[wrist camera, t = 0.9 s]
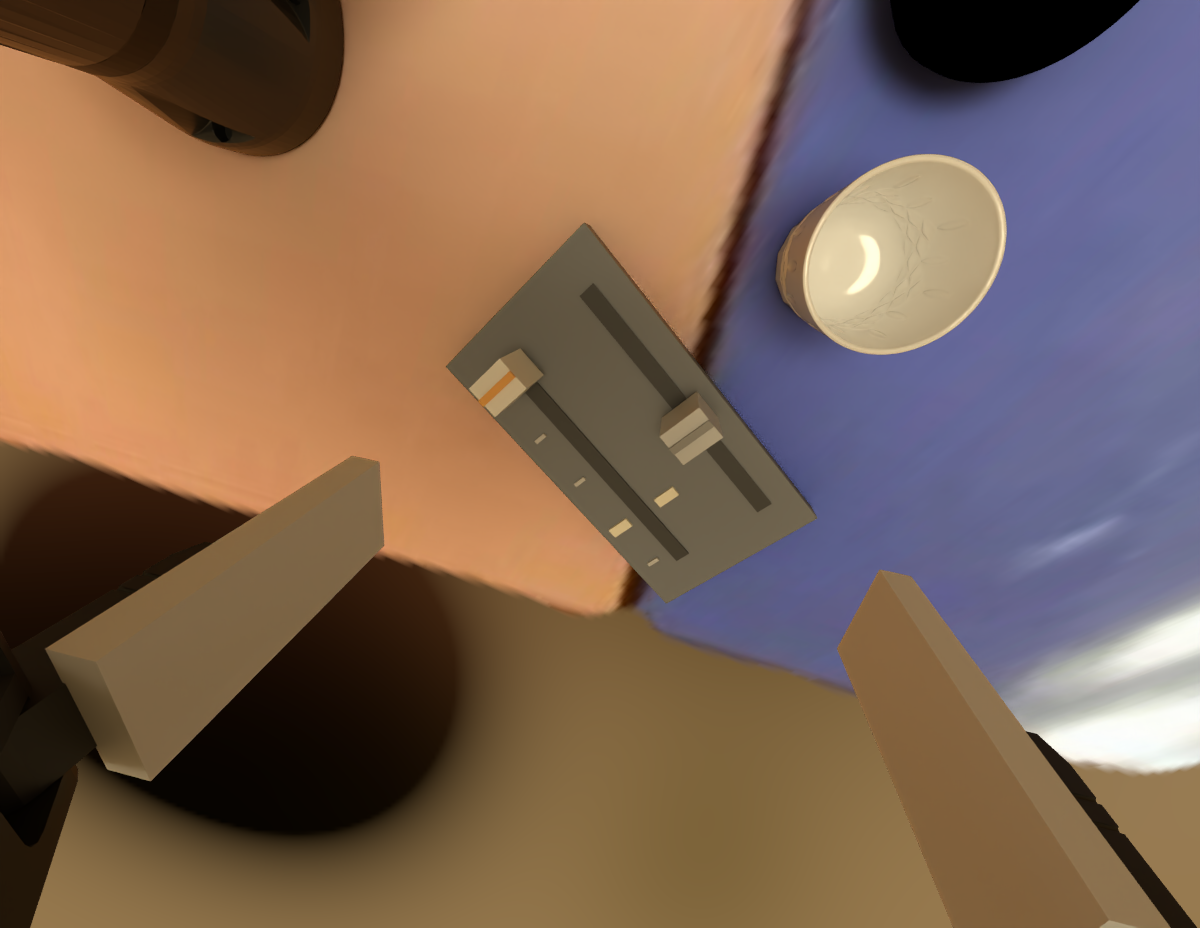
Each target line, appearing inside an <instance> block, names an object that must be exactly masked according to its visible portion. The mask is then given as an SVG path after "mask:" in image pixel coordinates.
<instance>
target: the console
mask: <svg viewBox="0 0 1200 928" xmlns="http://www.w3.org/2000/svg"><path fill="white" fill-rule="evenodd" d="M518 349H521V350H522V351H523V352H524V353H525V354H526V355H527V357H528V358H529V359H530V360H531V361H532V362H533V363H534V365H535V366H536V367H537V368H538V369H539V370H540V371H541V372H542V374H543V376H542V377H541V378H540V379H539V380H538V381H537V382H536V383H534V384H533V385H532V386H531V387H530V388H529V389H528V390H527V391H526V392H525V393H523V394H522V395H521V396H520V397H519V398H518V399H517V400H516V401H515V402H513V403H512V404H511V405H510V406H508V407H507V408H506V409H505V410H503V411H502V412H501V413H500V414H498V415H497V416H496V417H494V416H493V415H492V414H491V413H490V411H489V410H488V409H487V408H486V407H485V406H484V408H485V409H486V410H487V411H488V412H489V414H490V415H491V416H492V417H493V418H494V419H495V420H496V421H497V422H498V423H499V424H500V425H501V426H502V427H503V429H504V430H505V431H506V432H507V433H508V434H509V435H510V436H511V437H512V438H513V439H514V440H515V441H516V443H517V444H518V445H519V446H520V447H521V448H522V449H523V450H524V451H525V452H526V453H527V454H528V455H529V457H530V458H531V459H532V460H533V461H534V462H535V463H536V464H537V465H538V466H539V467H540V468H541V469H542V470H543V472H544V473H545V474H546V475H547V476H548V477H549V478H550V479H551V480H552V481H553V482H554V483H555V484H556V486H557V487H558V488H559V489H560V490H561V491H562V492H563V493H564V494H565V495H566V496H567V497H568V498H569V500H570V501H571V502H572V503H573V504H574V505H575V506H576V507H577V508H578V509H579V510H580V511H581V512H582V513H583V515H584V516H585V517H586V518H587V519H588V520H589V521H590V522H591V523H592V524H593V525H594V526H595V527H596V529H597V530H598V531H599V532H600V533H601V534H602V535H603V536H604V537H605V538H606V539H607V540H608V541H609V543H610V544H611V545H612V546H613V547H614V548H615V549H616V550H617V551H618V552H619V553H620V554H621V555H622V556H623V558H624V559H625V560H626V561H627V562H628V563H629V564H630V565H631V566H632V567H633V568H634V569H635V570H636V572H637V573H638V574H639V575H640V576H641V577H642V578H643V579H644V580H645V581H646V582H647V583H648V584H649V586H650V587H651V588H652V589H653V590H654V591H655V592H656V593H657V594H658V595H659V596H660V597H661V598H662V600H663V601H664V602H665V603H668V602H670V601H672V600H673V599H675V598H677V597H679V596H681V595H682V594H684V593H686V592H688V591H689V590H691V589H693V588H695V587H696V586H698V585H700V584H702V583H704V582H705V581H707V580H709V579H711V578H712V577H714V576H716V575H718V574H719V573H721V572H723V571H725V570H727V569H728V568H730V567H732V566H734V565H735V564H737V563H739V562H741V561H743V560H744V559H746V558H748V557H750V556H751V555H753V554H755V553H757V552H758V551H760V550H762V549H764V548H766V547H767V546H769V545H771V544H773V543H774V542H776V541H778V540H780V539H781V538H783V537H785V536H787V535H789V534H790V533H792V532H794V531H796V530H797V529H799V528H801V527H803V526H804V525H806V524H808V523H810V522H812V521H813V520H815V519H817V516H816V515H815V513H814V511H813V509H812V507H811V506H810V505H809V503H808V502H807V501H806V499H805V498H804V497H803V496H802V494H801V493H800V492H799V491H798V489H797V488H796V487H795V486H794V484H793V483H792V482H791V480H790V479H789V478H788V477H787V475H786V474H785V473H784V472H783V470H782V469H781V468H780V466H779V465H778V464H777V463H776V461H775V460H774V459H773V458H772V456H771V455H770V454H769V453H768V451H767V450H766V449H765V447H764V446H763V445H762V444H761V442H760V441H759V440H758V439H757V437H756V436H755V435H754V433H753V432H752V431H751V430H750V428H749V427H748V426H747V425H746V423H745V422H744V421H743V419H742V418H741V417H740V416H739V414H738V413H737V412H736V411H735V409H734V408H733V407H732V406H731V404H730V403H729V402H728V400H727V399H726V398H725V397H724V395H723V394H722V393H721V392H720V390H719V389H718V388H717V386H716V385H715V384H714V383H713V381H712V380H711V379H710V378H709V376H708V375H707V374H706V372H705V371H704V370H703V369H702V367H701V366H700V365H699V364H698V362H697V361H696V360H695V359H694V357H693V356H692V355H691V353H690V352H689V351H688V350H687V348H686V347H685V346H684V345H683V343H682V342H681V341H680V339H679V338H678V337H677V336H676V334H675V333H674V332H673V331H672V329H671V328H670V327H669V326H668V324H667V323H666V322H665V320H664V319H663V318H662V317H661V315H660V314H659V313H658V312H657V310H656V309H655V308H654V306H653V305H652V304H651V303H650V301H649V300H648V299H647V298H646V296H645V295H644V294H643V292H642V291H641V290H640V289H639V287H638V286H637V285H636V284H635V282H634V281H633V280H632V279H631V277H630V276H629V275H628V273H627V272H626V271H625V270H624V268H623V267H622V266H621V265H620V263H619V262H618V261H617V259H616V258H615V257H614V256H613V254H612V253H611V252H610V251H609V249H608V248H607V247H606V246H605V244H604V243H603V242H602V240H601V239H600V238H599V237H598V235H597V234H596V233H595V232H594V230H593V229H592V228H591V226H590V225H588V224H586V223H583V224H582V225H581V227H580V228H579V229H578V230H577V231H576V232H575V233H574V234H573V235H572V236H571V237H570V238H569V239H568V240H567V241H566V242H565V243H564V244H563V245H562V246H561V247H560V248H559V249H558V250H557V251H556V253H555V254H554V255H553V256H552V257H551V258H550V259H549V260H548V261H547V262H546V263H545V264H544V265H543V266H542V267H541V268H540V269H539V270H538V271H537V272H536V273H535V274H534V275H533V276H532V277H531V278H530V280H529V281H528V282H527V283H526V284H525V285H524V286H523V287H522V288H521V289H520V290H519V291H518V292H517V293H516V294H515V295H514V296H513V297H512V298H511V299H510V300H509V301H508V302H507V303H506V304H505V306H504V307H503V308H502V309H501V310H500V311H499V312H498V313H497V314H496V315H495V316H494V317H493V318H492V319H491V320H490V321H489V322H488V323H487V324H486V325H485V326H484V327H483V328H482V329H481V330H480V332H479V333H478V334H477V335H476V336H475V337H474V338H473V339H472V340H471V341H470V342H469V343H468V344H467V345H466V346H465V347H464V348H463V349H462V350H461V351H460V352H459V353H458V354H457V355H456V356H455V358H454V359H453V360H452V361H451V362H450V363H449V364H448V365H447V366H446V367H447V368H448V369H449V371H450V372H451V373H452V374H453V375H454V376H455V377H456V378H457V379H458V380H459V381H460V382H461V383H462V384H463V386H464V387H465V388H466V389H467V390H468V391H469V392H470V393H471V394H472V395H473V396H474V397H475V398H476V400H477V401H479V400H478V399H477V397H476V396H475V395H474V394H473V393H472V392H471V391H470V390H469V388H470V387H471V386H472V385H473V384H474V383H475V382H476V381H477V380H478V379H479V378H480V377H481V376H482V375H483V374H484V373H485V372H486V371H488V370H489V369H490V368H491V367H492V366H493V365H494V364H495V363H496V362H497V361H498V360H499V359H500V358H502V357H504V356H506V355H508V354H510V353H512V352H514V351H516V350H518ZM695 392H698V393H699V395H700V396H701V397H702V398H703V400H704V401H705V402H706V403H707V404H708V406H709V407H710V408H711V409H712V411H713V412H714V413H715V414H716V416H717V417H718V419H719V423H720V427H721V430H722V434H723V438H722V439H720V440H719V441H717V442H716V443H715V444H713V445H712V446H710V447H709V448H707V449H706V450H704V451H703V452H702V453H700V454H699V455H697V456H696V457H694V458H693V459H692V460H690V461H689V462H687V463H686V464H684V465H683V464H682V463H681V462H680V461H679V459H678V458H677V457H676V456H675V455H673V453H672V452H671V451H670V450H669V448H668V446H667V445H666V444H665V443H664V442H663V440H662V439H661V438H660V429H661V421H662V417H664V416H665V415H666V414H668V413H669V412H670V411H672V410H673V409H674V408H676V407H677V406H678V405H680V404H681V403H682V402H683V401H685V400H686V399H687V398H689V397H690V396H691V395H693V394H694V393H695Z"/></svg>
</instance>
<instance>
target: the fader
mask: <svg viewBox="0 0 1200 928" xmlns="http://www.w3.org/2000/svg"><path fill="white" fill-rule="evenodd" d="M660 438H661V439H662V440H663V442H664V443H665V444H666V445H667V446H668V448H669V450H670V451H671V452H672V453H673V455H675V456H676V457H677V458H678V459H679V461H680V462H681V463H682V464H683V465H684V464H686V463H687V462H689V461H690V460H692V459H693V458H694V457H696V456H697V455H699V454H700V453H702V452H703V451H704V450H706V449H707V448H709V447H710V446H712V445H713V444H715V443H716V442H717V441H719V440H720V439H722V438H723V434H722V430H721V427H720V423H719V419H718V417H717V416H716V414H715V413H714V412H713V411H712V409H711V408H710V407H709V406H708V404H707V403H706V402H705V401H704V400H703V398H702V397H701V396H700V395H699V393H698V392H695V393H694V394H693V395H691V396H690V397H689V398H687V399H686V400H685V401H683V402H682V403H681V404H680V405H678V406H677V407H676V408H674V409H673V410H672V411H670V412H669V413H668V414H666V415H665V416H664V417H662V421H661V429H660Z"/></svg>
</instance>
